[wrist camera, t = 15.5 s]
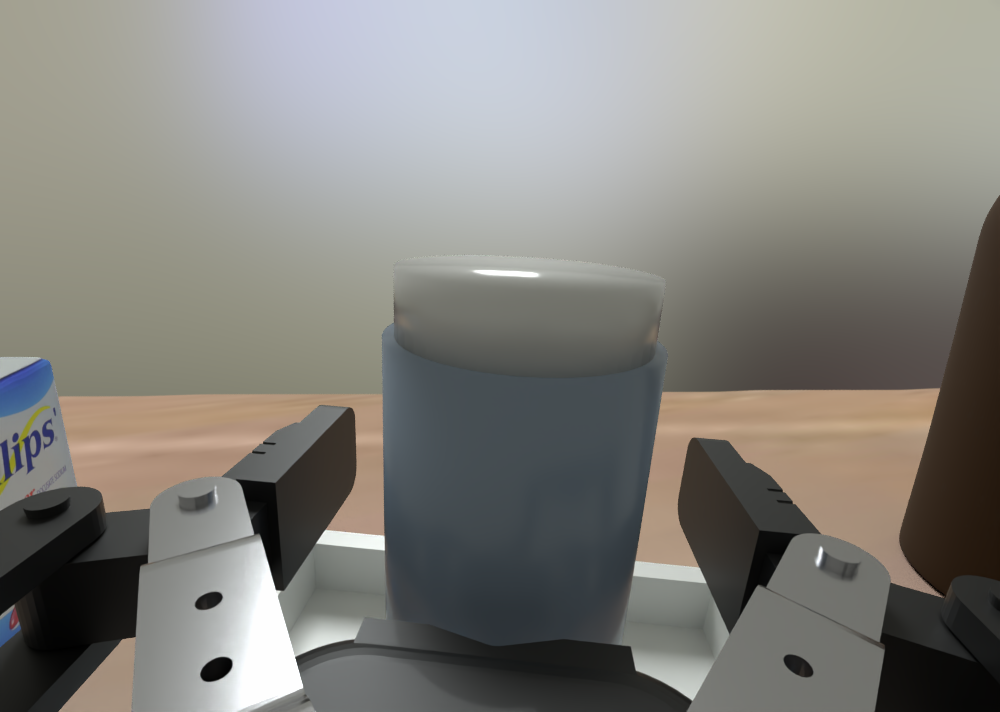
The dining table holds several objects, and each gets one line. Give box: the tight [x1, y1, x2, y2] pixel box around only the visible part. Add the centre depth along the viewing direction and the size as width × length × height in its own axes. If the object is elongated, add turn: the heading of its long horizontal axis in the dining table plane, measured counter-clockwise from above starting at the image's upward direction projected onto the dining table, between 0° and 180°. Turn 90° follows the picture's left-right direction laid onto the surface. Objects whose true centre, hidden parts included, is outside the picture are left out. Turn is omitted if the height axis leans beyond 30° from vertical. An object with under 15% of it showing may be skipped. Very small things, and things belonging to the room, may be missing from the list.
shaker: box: [382, 255, 668, 646], centre depth 11 cm, size 5×5×13 cm
